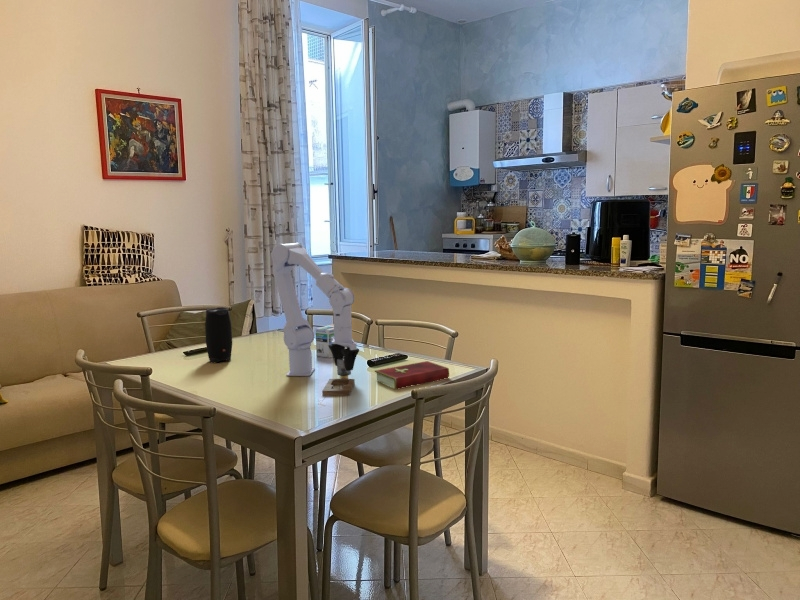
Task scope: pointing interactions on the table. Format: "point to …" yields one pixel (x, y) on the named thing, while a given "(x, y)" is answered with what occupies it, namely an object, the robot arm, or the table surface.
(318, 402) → the table surface
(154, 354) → the table surface
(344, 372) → the peg
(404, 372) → the hardcover book
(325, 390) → the keyhole plate
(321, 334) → the light bulb box
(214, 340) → the portable speaker
